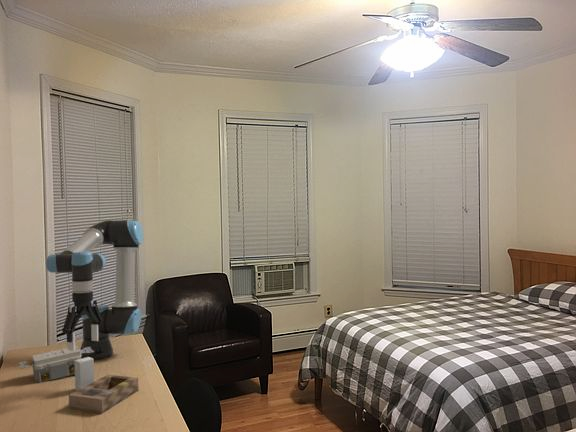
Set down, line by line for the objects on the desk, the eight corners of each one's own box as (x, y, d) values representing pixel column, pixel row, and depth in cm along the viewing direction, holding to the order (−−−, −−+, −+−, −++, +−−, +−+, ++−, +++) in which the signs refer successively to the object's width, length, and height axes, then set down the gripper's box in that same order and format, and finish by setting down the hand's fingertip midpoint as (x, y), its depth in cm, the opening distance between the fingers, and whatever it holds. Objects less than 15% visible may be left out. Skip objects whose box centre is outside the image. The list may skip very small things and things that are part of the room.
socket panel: (107, 386, 202) (107, 373, 202) (138, 390, 198) (138, 377, 198) (68, 408, 181) (67, 394, 181) (102, 413, 177) (101, 398, 177)
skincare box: (89, 385, 203) (88, 356, 203) (95, 388, 200) (94, 358, 200) (74, 390, 199) (73, 359, 198) (80, 393, 196) (79, 362, 195)
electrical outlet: (96, 371, 219) (94, 348, 218) (22, 389, 203) (20, 365, 202) (90, 363, 228) (88, 342, 228) (19, 381, 213) (17, 357, 212)
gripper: (95, 285, 211) (96, 336, 212) (51, 296, 187) (52, 353, 188) (110, 286, 209) (111, 337, 209) (67, 297, 185) (68, 355, 185)
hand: (83, 345), depth 199 cm, fingers open, 13 cm apart
